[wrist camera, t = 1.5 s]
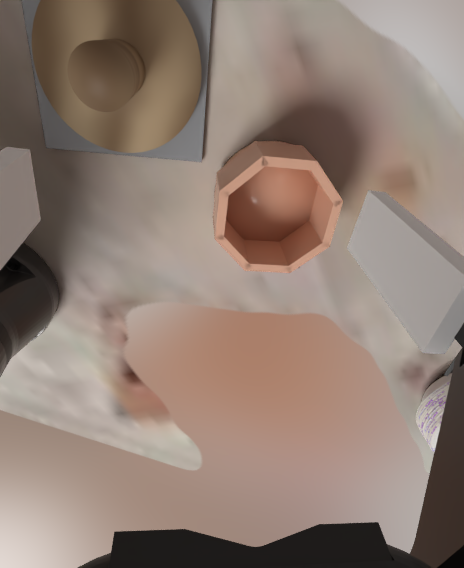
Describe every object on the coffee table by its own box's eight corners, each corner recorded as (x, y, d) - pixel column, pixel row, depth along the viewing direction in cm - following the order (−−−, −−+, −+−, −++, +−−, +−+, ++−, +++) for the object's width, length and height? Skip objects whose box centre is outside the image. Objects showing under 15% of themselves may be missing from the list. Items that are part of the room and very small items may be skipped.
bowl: (209, 239, 40) (211, 269, 35) (219, 134, 34) (223, 151, 29) (306, 245, 41) (321, 274, 36) (332, 146, 35) (354, 164, 30)
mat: (48, 146, 33) (46, 147, 33) (14, -61, 25) (10, -63, 25) (201, 160, 35) (201, 162, 34) (214, -29, 27) (214, -30, 27)
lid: (51, 142, 32) (14, 170, 26) (20, -52, 25) (-42, -82, 19) (196, 156, 34) (196, 185, 28) (207, -23, 27) (210, -40, 20)
